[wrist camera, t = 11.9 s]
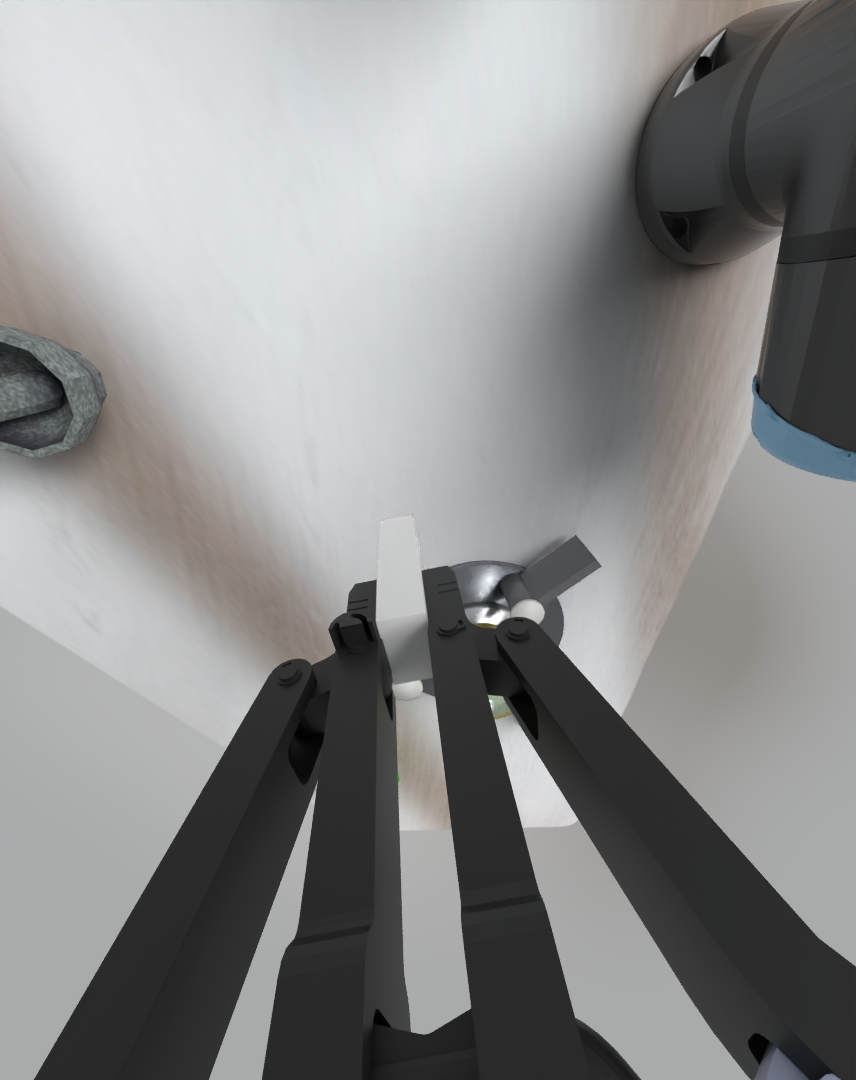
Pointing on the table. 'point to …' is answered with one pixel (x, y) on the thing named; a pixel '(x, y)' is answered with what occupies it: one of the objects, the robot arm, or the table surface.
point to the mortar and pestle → (45, 395)
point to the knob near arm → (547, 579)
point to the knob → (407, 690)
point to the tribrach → (495, 609)
